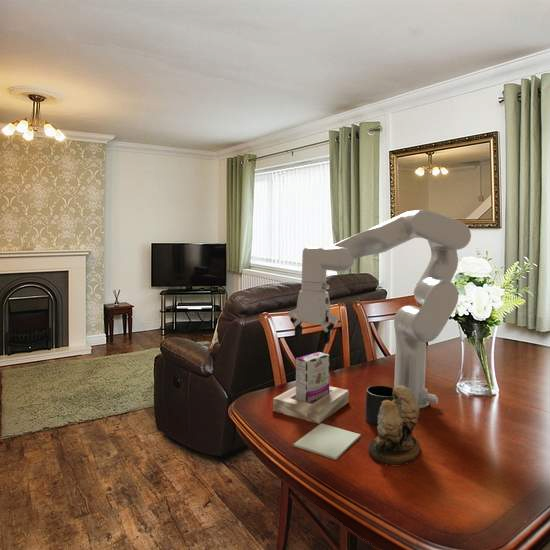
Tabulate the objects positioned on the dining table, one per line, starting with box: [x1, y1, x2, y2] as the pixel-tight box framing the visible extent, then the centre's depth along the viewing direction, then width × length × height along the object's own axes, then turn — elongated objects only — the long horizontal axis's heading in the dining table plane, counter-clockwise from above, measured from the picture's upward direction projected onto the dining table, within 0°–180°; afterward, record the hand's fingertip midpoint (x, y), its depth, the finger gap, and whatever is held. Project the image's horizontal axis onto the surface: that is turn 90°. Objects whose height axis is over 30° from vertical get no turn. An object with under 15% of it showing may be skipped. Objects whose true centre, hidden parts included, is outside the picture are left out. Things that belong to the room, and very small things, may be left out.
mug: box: [365, 385, 394, 427], centre depth 130 cm, size 9×12×9 cm
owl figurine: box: [368, 385, 421, 466], centre depth 111 cm, size 18×12×17 cm, turn 147°
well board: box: [272, 385, 350, 425], centre depth 139 cm, size 16×20×4 cm
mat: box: [293, 422, 361, 460], centre depth 116 cm, size 12×15×1 cm
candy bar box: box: [295, 351, 330, 404], centre depth 138 cm, size 11×5×16 cm, turn 134°
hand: (311, 341), depth 137 cm, fingers open, 9 cm apart
